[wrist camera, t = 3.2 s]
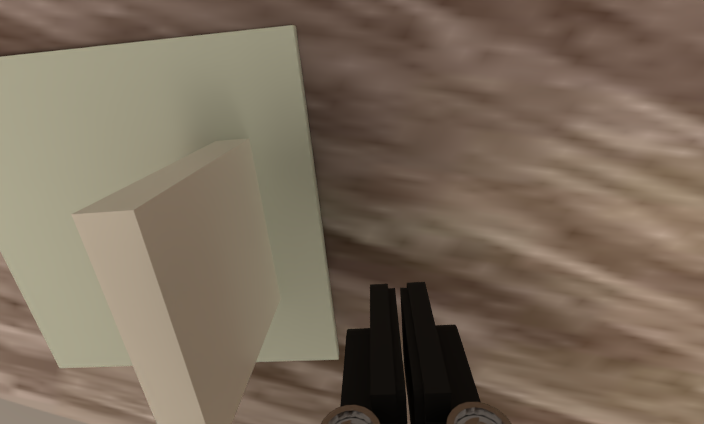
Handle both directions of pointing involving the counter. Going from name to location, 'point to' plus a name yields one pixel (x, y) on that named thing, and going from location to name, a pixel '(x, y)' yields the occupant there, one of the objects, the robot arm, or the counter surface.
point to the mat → (148, 157)
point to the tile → (188, 279)
